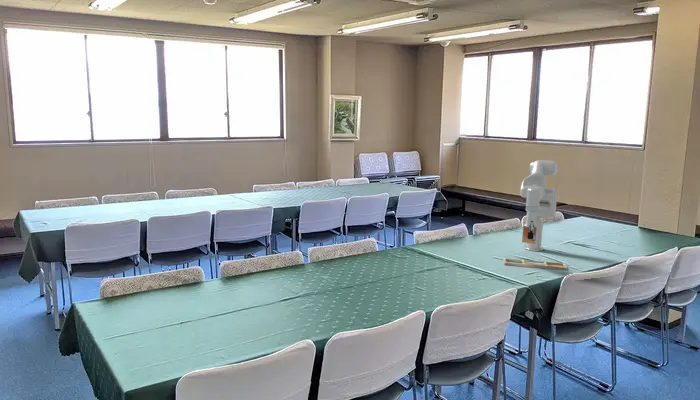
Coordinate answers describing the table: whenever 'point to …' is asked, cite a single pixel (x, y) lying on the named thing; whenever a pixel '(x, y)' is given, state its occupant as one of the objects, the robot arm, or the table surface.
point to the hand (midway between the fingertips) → (529, 237)
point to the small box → (525, 235)
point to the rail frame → (536, 264)
